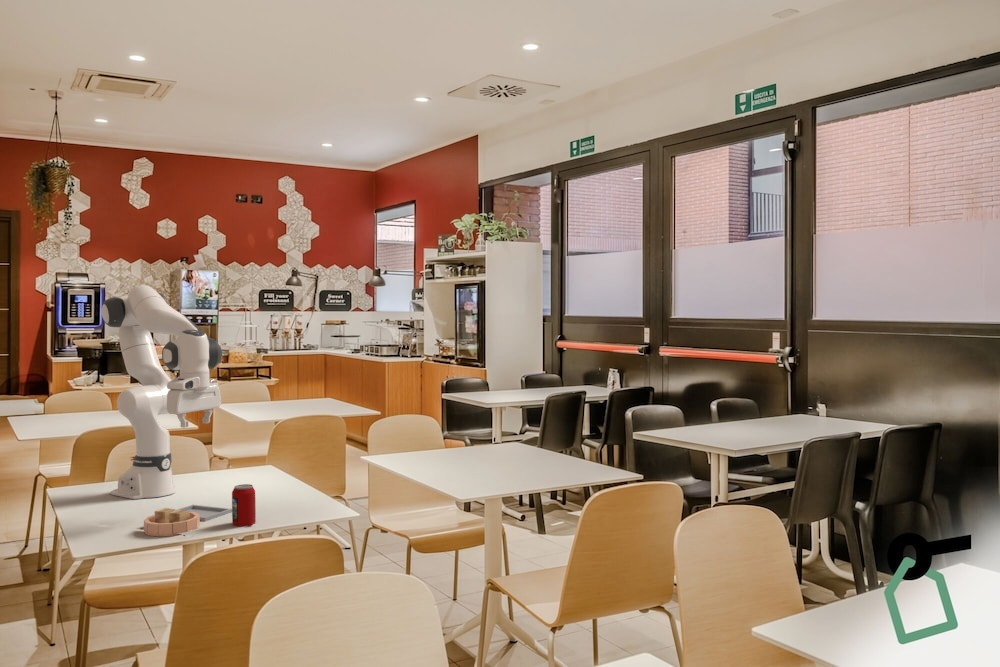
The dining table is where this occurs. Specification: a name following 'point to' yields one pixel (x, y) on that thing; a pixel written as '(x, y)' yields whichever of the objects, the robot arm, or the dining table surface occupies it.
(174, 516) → the block right
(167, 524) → the bowl
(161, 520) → the block left
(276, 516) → the dining table surface
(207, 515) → the tray
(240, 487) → the beverage can
